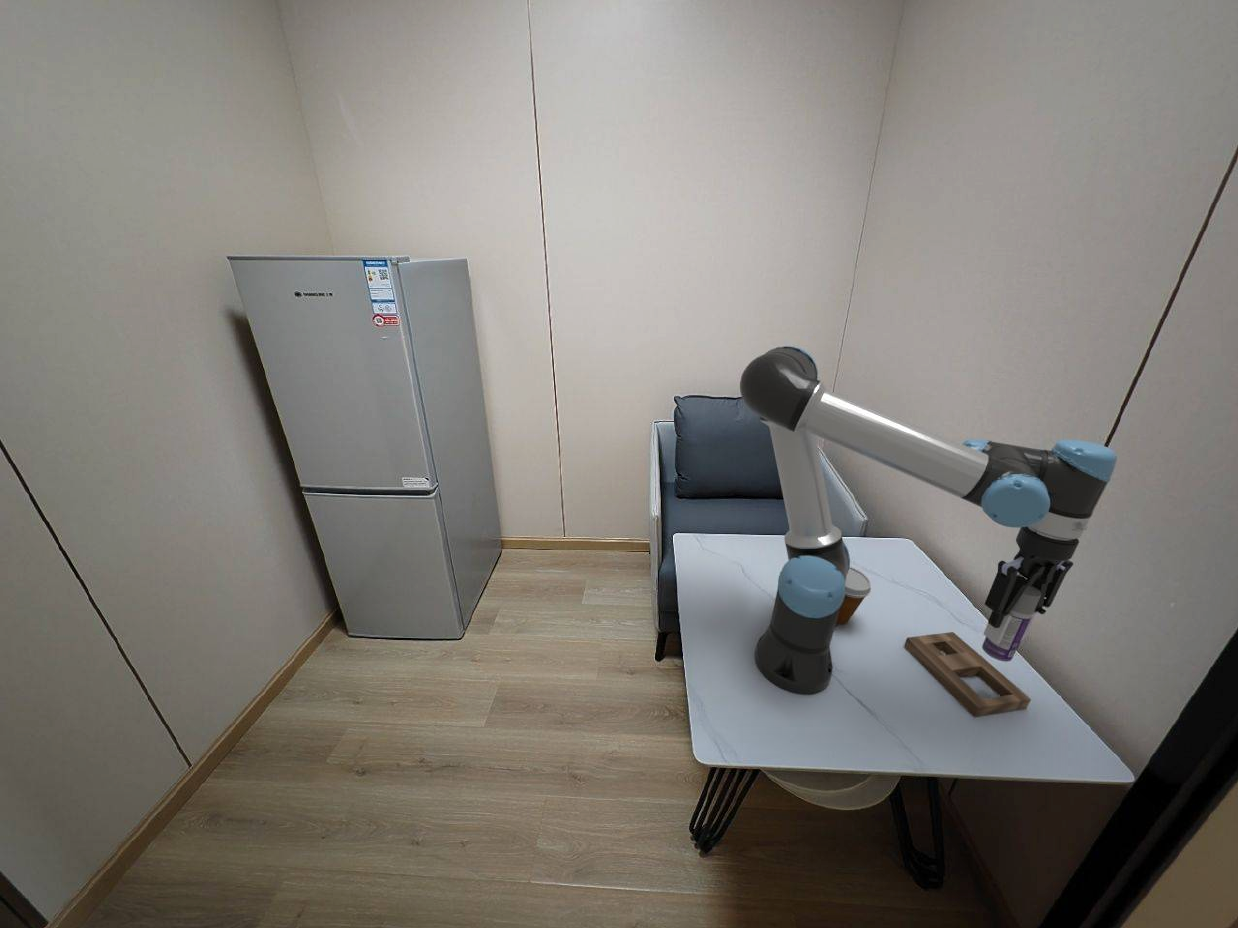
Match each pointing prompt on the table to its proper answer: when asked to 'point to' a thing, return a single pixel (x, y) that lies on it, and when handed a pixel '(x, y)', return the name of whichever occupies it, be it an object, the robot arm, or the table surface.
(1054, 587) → the robot arm
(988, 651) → the container
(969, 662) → the socket board
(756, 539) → the table surface
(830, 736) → the table surface
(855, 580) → the disposable coffee cup
